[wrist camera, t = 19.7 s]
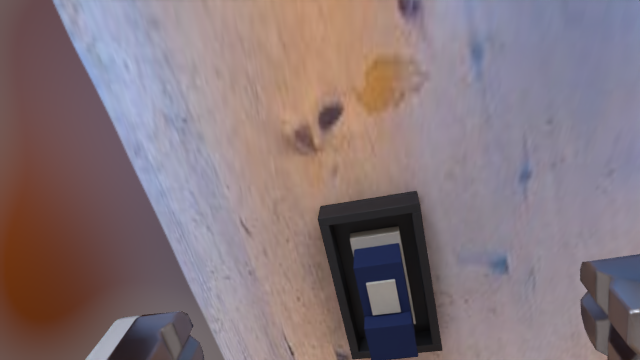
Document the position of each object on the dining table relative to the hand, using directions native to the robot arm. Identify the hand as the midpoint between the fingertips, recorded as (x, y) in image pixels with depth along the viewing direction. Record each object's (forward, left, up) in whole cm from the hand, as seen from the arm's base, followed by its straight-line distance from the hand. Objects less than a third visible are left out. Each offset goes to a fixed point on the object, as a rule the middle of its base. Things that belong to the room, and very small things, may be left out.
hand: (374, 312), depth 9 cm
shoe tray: (+2, +18, -29) cm, 34 cm away
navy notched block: (+2, +18, -29) cm, 34 cm away
